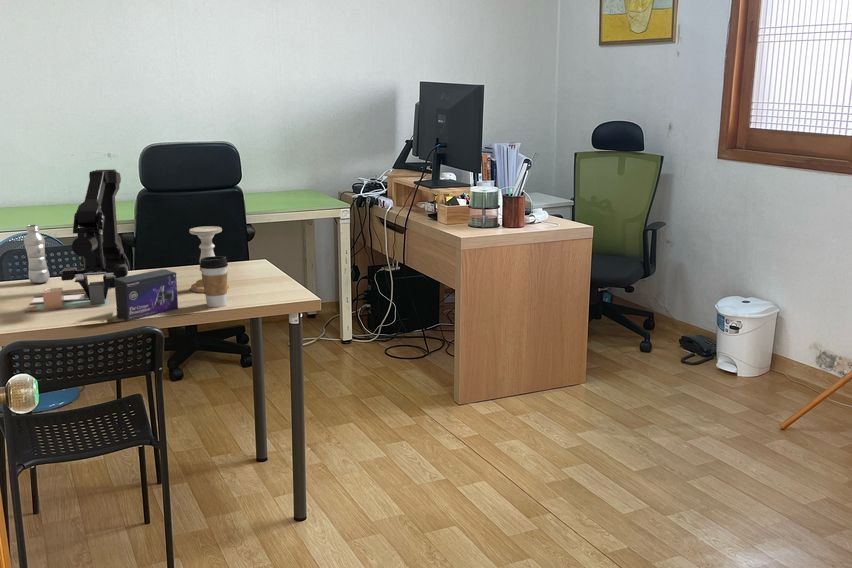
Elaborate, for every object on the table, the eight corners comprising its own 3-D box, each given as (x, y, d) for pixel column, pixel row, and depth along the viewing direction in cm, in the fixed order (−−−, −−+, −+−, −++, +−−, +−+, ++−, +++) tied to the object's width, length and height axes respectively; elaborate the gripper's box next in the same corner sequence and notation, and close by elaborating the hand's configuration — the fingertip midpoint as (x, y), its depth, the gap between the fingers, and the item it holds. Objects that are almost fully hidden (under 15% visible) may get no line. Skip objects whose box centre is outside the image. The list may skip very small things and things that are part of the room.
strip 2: (108, 302, 261) (105, 280, 259) (106, 307, 254) (104, 285, 252) (38, 307, 255) (35, 285, 253) (35, 313, 248) (32, 291, 247)
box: (128, 322, 240) (124, 281, 237) (116, 317, 244) (112, 278, 241) (179, 309, 252) (176, 271, 249) (167, 305, 257) (163, 268, 254)
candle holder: (236, 287, 277) (232, 228, 272) (205, 295, 268) (200, 233, 263) (214, 282, 285) (210, 224, 280) (183, 289, 276) (178, 229, 271)
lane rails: (102, 295, 270) (101, 290, 269) (97, 310, 252) (96, 305, 251) (35, 300, 264) (34, 295, 264) (25, 316, 246) (24, 311, 246)
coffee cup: (216, 309, 251) (212, 261, 247) (196, 306, 255) (193, 258, 252) (236, 303, 258) (233, 256, 254) (217, 299, 262) (213, 253, 258)
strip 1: (101, 295, 268) (100, 288, 268) (100, 301, 262) (99, 293, 261) (34, 301, 263) (33, 293, 262) (30, 306, 256) (29, 298, 256)
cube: (64, 303, 256) (62, 287, 255) (62, 307, 251) (60, 291, 250) (46, 304, 255) (44, 288, 253) (44, 308, 250) (42, 292, 249)
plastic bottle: (42, 285, 284) (35, 227, 279) (25, 284, 285) (17, 227, 280) (54, 280, 290) (47, 224, 285) (37, 280, 291) (30, 223, 286)
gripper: (126, 242, 262) (131, 290, 266) (62, 246, 257) (68, 295, 261) (124, 249, 252) (129, 299, 256) (58, 253, 247) (64, 304, 251)
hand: (98, 299), depth 256 cm, fingers closed on strip 2, 4 cm apart
